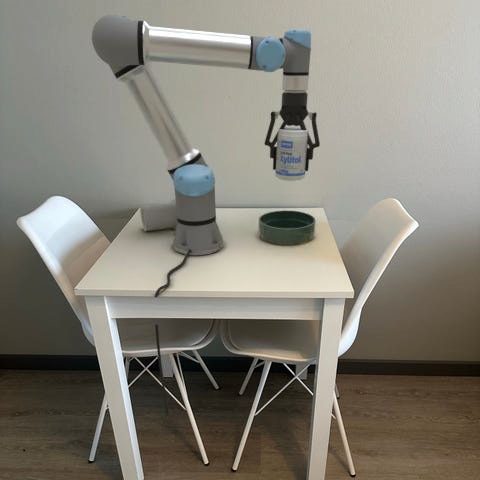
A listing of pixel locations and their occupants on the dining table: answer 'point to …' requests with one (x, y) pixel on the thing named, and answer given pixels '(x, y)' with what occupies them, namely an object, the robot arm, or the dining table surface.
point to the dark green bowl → (286, 227)
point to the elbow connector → (159, 216)
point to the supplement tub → (291, 153)
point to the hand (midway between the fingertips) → (290, 169)
